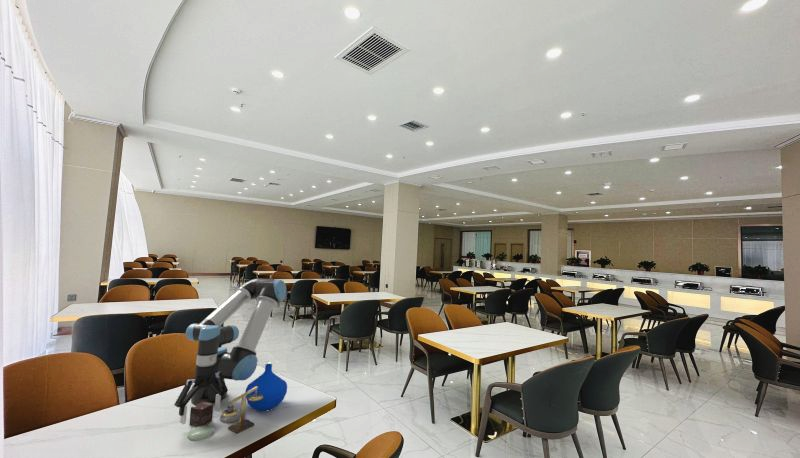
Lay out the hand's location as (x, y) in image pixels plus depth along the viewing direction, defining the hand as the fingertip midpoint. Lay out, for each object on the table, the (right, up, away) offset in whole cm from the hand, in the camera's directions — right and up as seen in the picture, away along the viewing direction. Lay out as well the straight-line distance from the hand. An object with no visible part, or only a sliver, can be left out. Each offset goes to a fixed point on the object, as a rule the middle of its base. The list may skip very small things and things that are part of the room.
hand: (200, 416), depth 134 cm
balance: (+18, -4, -1) cm, 18 cm away
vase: (+20, -6, +17) cm, 27 cm away
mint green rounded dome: (+5, -3, -7) cm, 9 cm away
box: (0, -3, 0) cm, 3 cm away
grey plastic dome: (+10, -4, +6) cm, 12 cm away
